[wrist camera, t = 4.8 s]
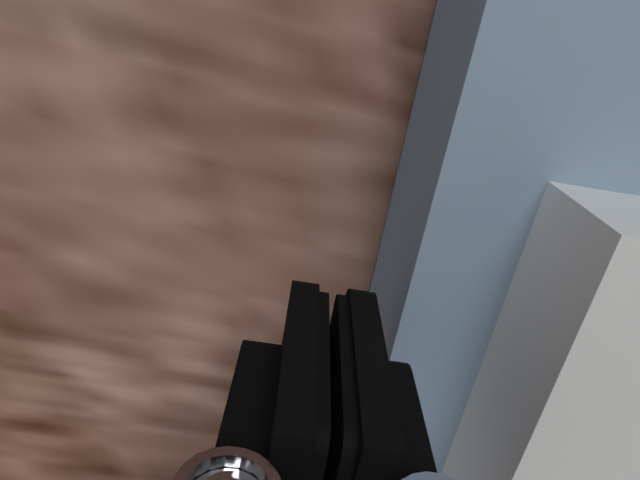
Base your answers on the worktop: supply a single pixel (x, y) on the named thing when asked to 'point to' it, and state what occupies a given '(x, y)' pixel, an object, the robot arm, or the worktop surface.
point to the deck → (496, 172)
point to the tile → (562, 351)
